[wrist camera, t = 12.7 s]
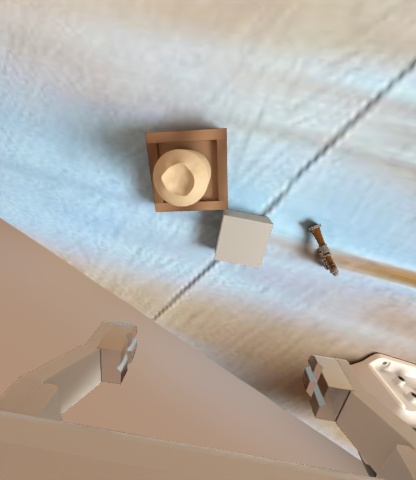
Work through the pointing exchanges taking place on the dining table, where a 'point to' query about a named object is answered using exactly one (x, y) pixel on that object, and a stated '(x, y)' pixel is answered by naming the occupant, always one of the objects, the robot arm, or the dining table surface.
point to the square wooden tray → (207, 144)
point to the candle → (181, 176)
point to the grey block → (243, 238)
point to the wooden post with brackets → (324, 250)
